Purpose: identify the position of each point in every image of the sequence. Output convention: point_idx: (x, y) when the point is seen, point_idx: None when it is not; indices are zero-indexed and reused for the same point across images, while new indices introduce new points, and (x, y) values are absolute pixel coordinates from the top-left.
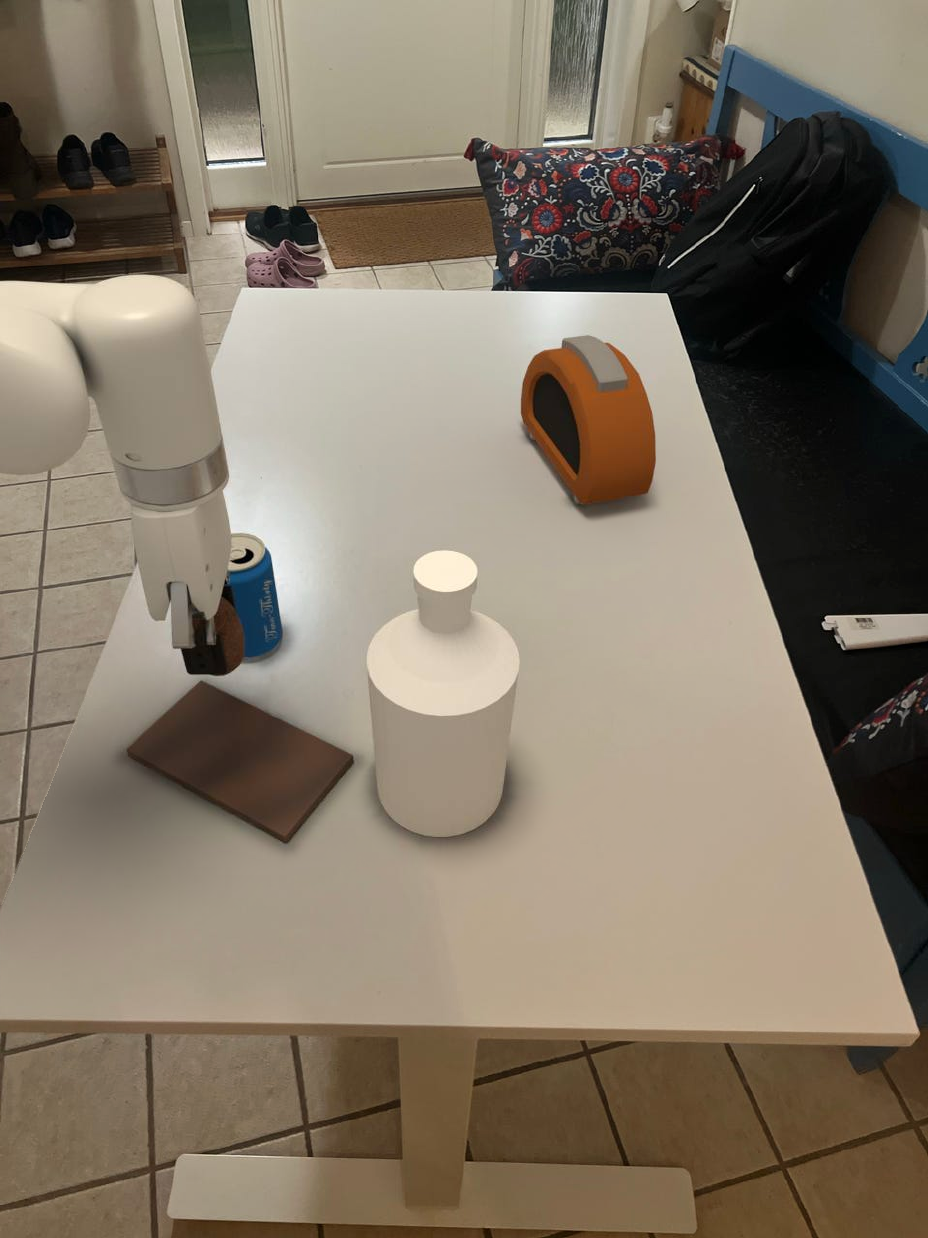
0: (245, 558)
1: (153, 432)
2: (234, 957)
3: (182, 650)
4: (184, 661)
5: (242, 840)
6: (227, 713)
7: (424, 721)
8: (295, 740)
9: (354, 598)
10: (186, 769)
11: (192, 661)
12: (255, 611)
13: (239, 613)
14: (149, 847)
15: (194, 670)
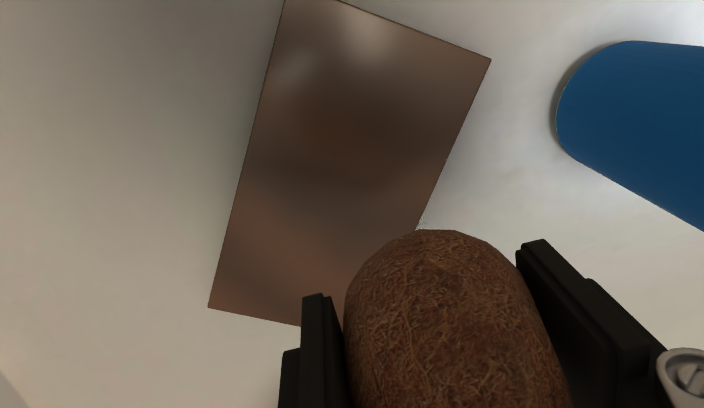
0: None
1: None
2: (29, 297)
3: (302, 376)
4: (301, 333)
5: (194, 244)
6: (414, 144)
7: None
8: None
9: (700, 236)
10: (276, 125)
11: (282, 390)
12: (643, 192)
13: (638, 163)
14: (125, 117)
15: (284, 355)
